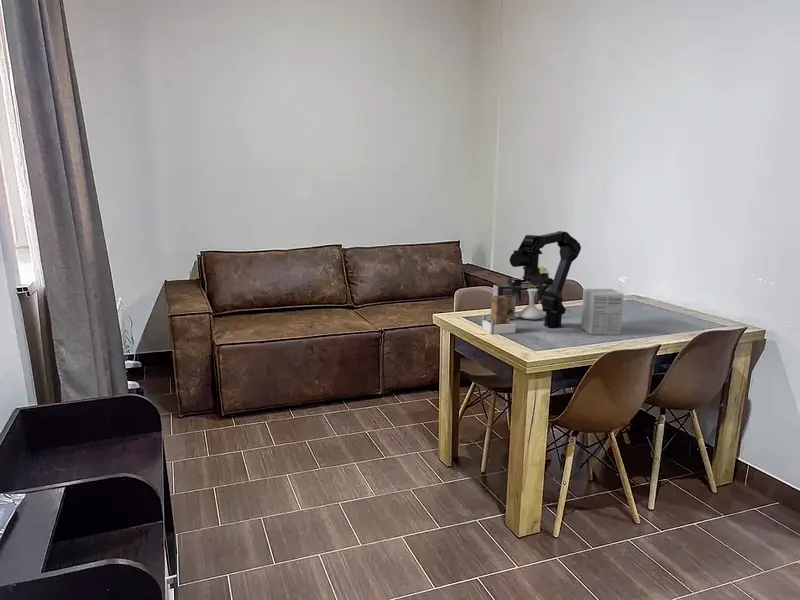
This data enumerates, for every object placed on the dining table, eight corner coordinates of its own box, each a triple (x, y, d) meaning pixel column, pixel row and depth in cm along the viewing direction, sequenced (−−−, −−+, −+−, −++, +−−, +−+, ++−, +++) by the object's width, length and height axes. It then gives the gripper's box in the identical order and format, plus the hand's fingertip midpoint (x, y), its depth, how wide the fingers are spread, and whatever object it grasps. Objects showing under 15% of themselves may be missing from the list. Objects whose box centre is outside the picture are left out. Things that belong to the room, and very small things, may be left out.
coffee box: (497, 321, 276) (498, 286, 273) (491, 318, 282) (492, 284, 279) (515, 320, 279) (516, 285, 276) (509, 317, 285) (510, 283, 282)
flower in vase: (516, 320, 279) (519, 266, 274) (520, 315, 289) (522, 263, 284) (545, 322, 275) (548, 268, 270) (548, 317, 285) (551, 264, 280)
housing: (504, 326, 266) (505, 314, 264) (515, 333, 255) (516, 319, 254) (481, 328, 263) (481, 315, 262) (491, 334, 252) (491, 320, 251)
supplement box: (621, 335, 253) (624, 294, 250) (589, 334, 253) (592, 294, 250) (609, 327, 266) (612, 288, 263) (580, 327, 266) (582, 288, 263)
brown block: (500, 327, 262) (502, 295, 259) (506, 329, 257) (507, 297, 254) (490, 327, 260) (491, 296, 258) (495, 330, 256) (496, 298, 253)
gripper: (519, 268, 243) (517, 306, 246) (560, 267, 247) (558, 304, 250) (507, 264, 253) (506, 301, 256) (548, 263, 258) (546, 299, 261)
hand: (529, 301), depth 255 cm, fingers open, 9 cm apart
